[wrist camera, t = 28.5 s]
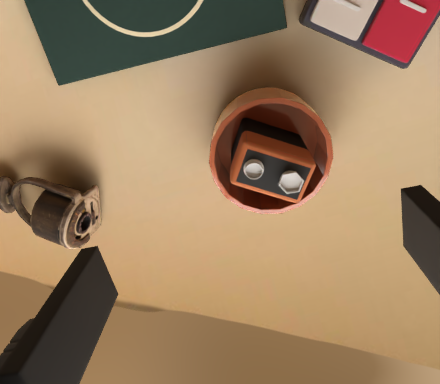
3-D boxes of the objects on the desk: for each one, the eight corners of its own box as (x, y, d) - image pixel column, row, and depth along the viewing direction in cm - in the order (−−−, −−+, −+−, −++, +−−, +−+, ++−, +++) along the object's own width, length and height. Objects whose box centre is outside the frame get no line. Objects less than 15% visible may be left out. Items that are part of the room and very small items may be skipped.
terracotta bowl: (226, 199, 45) (225, 223, 39) (201, 100, 40) (196, 113, 35) (326, 179, 43) (338, 202, 38) (312, 74, 39) (324, 83, 33)
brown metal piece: (72, 281, 44) (101, 230, 39) (-41, 236, 41) (-28, 174, 35) (93, 237, 50) (120, 188, 44) (-5, 195, 46) (11, 135, 41)
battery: (287, 169, 42) (301, 210, 33) (230, 152, 42) (228, 188, 33) (302, 134, 41) (320, 166, 32) (242, 115, 40) (244, 142, 31)
